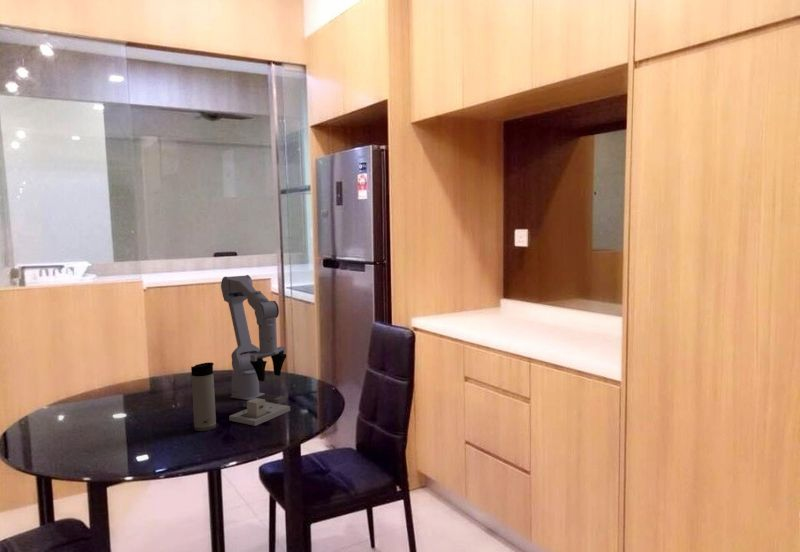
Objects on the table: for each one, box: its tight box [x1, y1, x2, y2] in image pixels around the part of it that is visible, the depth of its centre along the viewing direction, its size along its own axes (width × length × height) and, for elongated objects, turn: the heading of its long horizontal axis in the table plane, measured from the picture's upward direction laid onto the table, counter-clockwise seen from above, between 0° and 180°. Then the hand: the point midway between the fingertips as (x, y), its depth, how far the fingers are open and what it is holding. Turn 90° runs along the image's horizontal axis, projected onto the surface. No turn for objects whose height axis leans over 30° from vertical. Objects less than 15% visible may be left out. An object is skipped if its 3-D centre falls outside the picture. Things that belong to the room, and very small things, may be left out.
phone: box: [242, 394, 279, 409], centre depth 192 cm, size 6×12×1 cm, turn 150°
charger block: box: [246, 397, 266, 417], centre depth 176 cm, size 4×4×6 cm
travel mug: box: [190, 362, 217, 432], centre depth 168 cm, size 6×7×20 cm
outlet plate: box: [228, 402, 291, 427], centre depth 179 cm, size 11×16×2 cm
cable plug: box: [272, 395, 287, 405], centre depth 190 cm, size 10×2×2 cm, turn 150°
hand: (269, 377), depth 186 cm, fingers open, 7 cm apart
